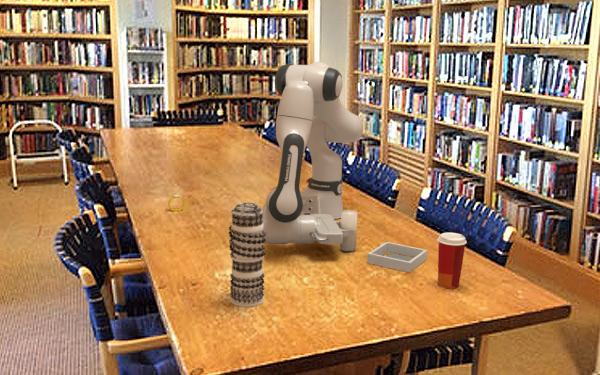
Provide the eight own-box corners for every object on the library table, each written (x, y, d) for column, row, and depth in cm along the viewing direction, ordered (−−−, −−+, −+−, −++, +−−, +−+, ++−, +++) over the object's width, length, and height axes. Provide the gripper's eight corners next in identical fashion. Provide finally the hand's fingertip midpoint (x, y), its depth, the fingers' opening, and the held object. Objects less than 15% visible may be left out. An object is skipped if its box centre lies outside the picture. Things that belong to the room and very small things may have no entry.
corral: (367, 263, 186) (367, 253, 186) (386, 250, 198) (386, 241, 197) (409, 272, 179) (410, 262, 179) (426, 259, 191) (427, 250, 190)
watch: (169, 212, 235) (168, 196, 234) (167, 210, 237) (167, 195, 236) (185, 210, 237) (184, 195, 236) (183, 209, 240) (183, 194, 238)
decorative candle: (221, 299, 158) (220, 204, 152) (249, 289, 165) (249, 198, 159) (244, 310, 152) (244, 212, 146) (272, 300, 158) (273, 205, 152)
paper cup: (458, 279, 175) (462, 232, 172) (466, 290, 168) (470, 240, 164) (430, 279, 175) (434, 231, 172) (437, 290, 167) (441, 240, 164)
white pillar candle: (337, 248, 196) (338, 212, 194) (344, 244, 201) (346, 209, 198) (351, 252, 194) (352, 215, 191) (358, 247, 198) (360, 211, 195)
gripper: (313, 230, 183) (359, 229, 185) (303, 210, 203) (345, 210, 205) (312, 250, 185) (358, 249, 187) (303, 229, 204) (344, 228, 206)
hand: (351, 228), depth 196 cm, fingers closed on white pillar candle, 5 cm apart
